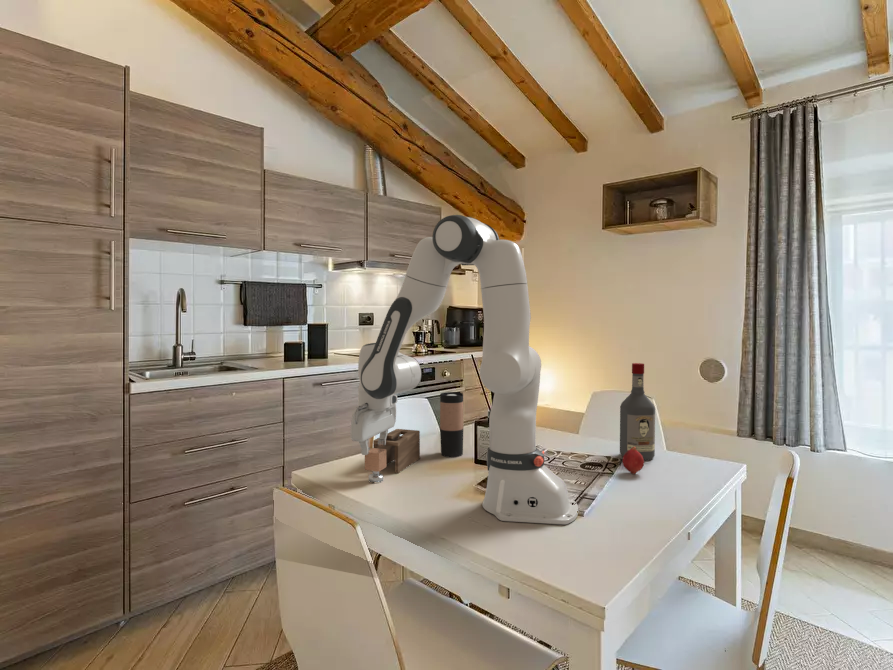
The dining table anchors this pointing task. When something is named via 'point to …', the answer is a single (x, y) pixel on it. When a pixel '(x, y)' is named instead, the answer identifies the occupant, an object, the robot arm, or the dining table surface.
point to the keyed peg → (375, 463)
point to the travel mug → (451, 424)
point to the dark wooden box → (401, 447)
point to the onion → (633, 460)
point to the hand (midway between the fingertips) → (373, 449)
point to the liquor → (637, 418)
